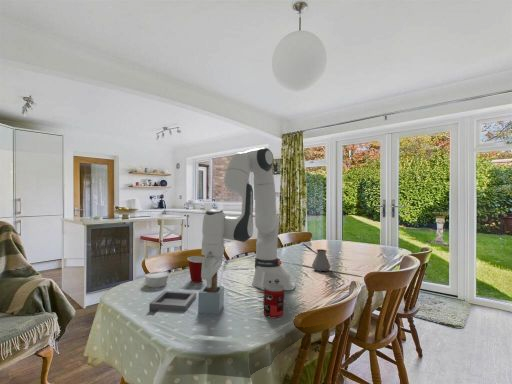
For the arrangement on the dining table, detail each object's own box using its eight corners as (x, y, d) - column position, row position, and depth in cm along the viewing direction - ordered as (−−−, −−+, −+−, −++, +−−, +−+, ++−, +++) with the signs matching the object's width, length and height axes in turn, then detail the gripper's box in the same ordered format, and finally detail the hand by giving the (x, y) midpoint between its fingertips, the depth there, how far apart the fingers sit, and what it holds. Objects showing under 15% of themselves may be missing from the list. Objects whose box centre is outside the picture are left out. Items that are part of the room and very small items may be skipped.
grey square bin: (223, 308, 117) (224, 286, 117) (219, 316, 109) (219, 293, 109) (203, 306, 118) (204, 285, 118) (197, 315, 110) (198, 292, 110)
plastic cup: (202, 284, 145) (203, 261, 145) (183, 282, 148) (183, 259, 148) (210, 278, 156) (210, 256, 156) (191, 276, 158) (192, 255, 158)
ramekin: (160, 279, 151) (160, 270, 151) (172, 284, 144) (172, 274, 144) (140, 284, 143) (140, 274, 143) (152, 290, 136) (152, 279, 135)
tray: (196, 299, 126) (196, 292, 126) (184, 313, 111) (185, 305, 111) (164, 297, 127) (164, 290, 127) (149, 311, 112) (149, 303, 112)
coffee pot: (333, 270, 179) (334, 247, 179) (323, 274, 171) (324, 249, 171) (306, 263, 195) (307, 242, 195) (296, 266, 187) (296, 244, 187)
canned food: (262, 309, 117) (263, 283, 117) (281, 309, 117) (282, 283, 117) (264, 318, 109) (265, 289, 109) (284, 318, 110) (285, 289, 110)
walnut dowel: (217, 307, 115) (218, 273, 115) (214, 311, 111) (216, 276, 111) (207, 306, 116) (208, 272, 116) (205, 310, 112) (206, 275, 112)
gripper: (214, 256, 103) (213, 293, 103) (225, 245, 123) (224, 276, 123) (197, 255, 103) (196, 292, 103) (211, 244, 124) (210, 276, 124)
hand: (211, 283), depth 114 cm, fingers open, 6 cm apart
